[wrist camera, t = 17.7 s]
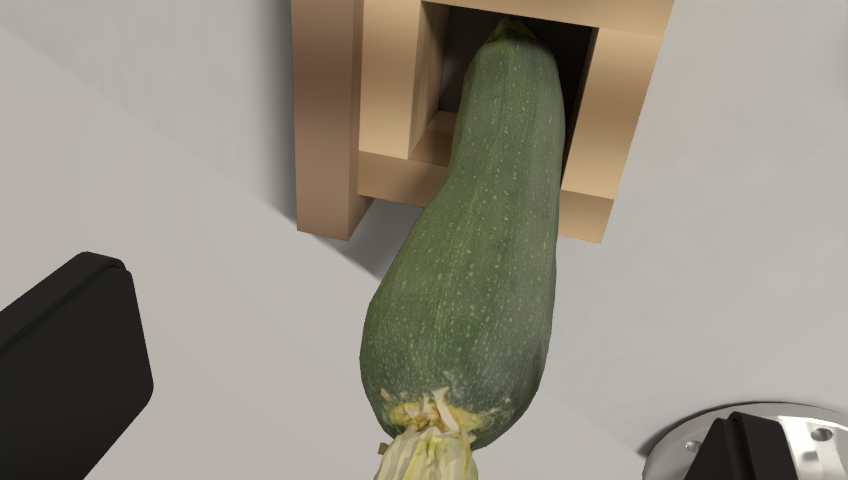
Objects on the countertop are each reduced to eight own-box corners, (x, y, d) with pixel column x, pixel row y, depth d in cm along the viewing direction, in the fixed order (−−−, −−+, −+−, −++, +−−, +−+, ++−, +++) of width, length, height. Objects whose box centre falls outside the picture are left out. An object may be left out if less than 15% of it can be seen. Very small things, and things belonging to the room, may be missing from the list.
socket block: (601, 180, 26) (601, 243, 22) (394, 141, 27) (357, 193, 23) (667, -55, 21) (683, -30, 17) (410, -89, 22) (366, -73, 18)
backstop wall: (392, 171, 28) (347, 241, 23) (350, 163, 28) (297, 230, 24) (413, -138, 21) (357, -132, 17) (358, -144, 22) (286, -140, 17)
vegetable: (598, 59, 23) (580, 698, 10) (517, 126, 26) (413, 694, 12) (513, -22, 22) (350, 593, 8) (437, 57, 25) (220, 616, 11)
